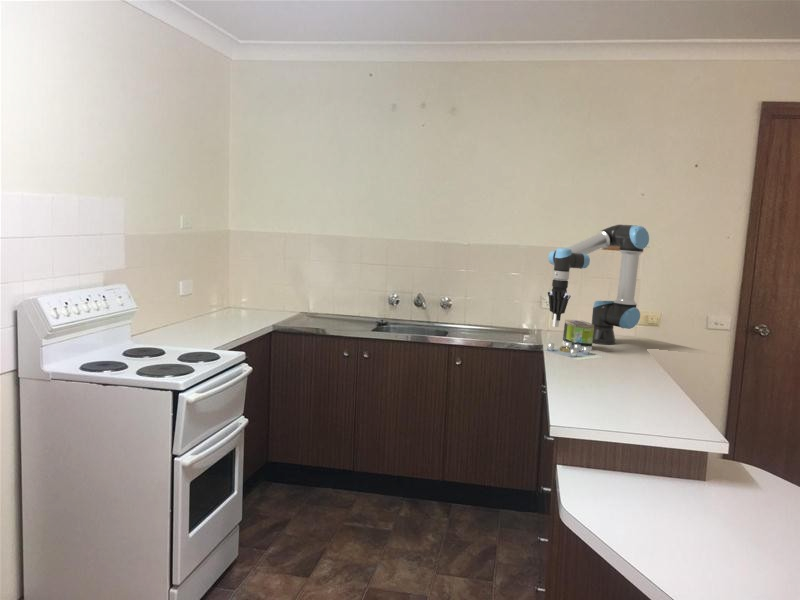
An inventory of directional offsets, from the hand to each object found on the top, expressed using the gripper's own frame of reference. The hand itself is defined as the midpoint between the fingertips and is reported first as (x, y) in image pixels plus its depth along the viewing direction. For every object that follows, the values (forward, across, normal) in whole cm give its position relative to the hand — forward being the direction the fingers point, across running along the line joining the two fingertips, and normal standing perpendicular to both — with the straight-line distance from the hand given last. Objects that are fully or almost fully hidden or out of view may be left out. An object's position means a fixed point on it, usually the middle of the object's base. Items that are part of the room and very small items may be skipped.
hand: (555, 326), depth 331 cm
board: (+12, +12, 0) cm, 17 cm away
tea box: (+13, +1, +17) cm, 21 cm away
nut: (+11, +7, 0) cm, 13 cm away
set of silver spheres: (+11, +10, 0) cm, 15 cm away
